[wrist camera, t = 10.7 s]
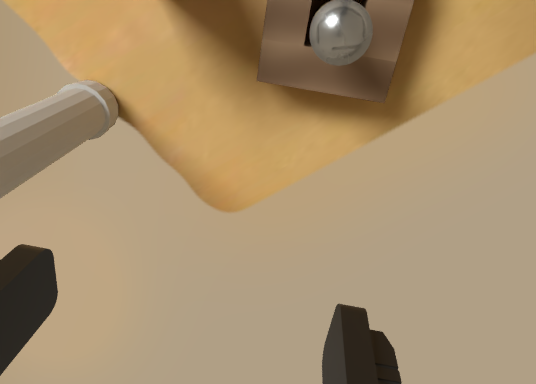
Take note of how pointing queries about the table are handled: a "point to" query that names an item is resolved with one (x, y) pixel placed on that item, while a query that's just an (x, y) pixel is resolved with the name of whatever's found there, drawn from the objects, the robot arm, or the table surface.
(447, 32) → the table surface
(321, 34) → the pin
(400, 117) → the table surface
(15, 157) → the pipe
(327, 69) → the socket block
